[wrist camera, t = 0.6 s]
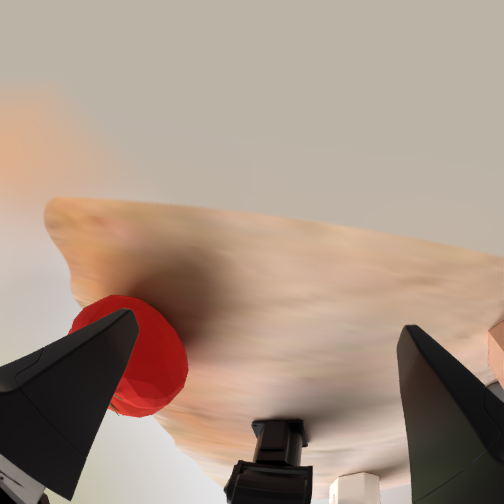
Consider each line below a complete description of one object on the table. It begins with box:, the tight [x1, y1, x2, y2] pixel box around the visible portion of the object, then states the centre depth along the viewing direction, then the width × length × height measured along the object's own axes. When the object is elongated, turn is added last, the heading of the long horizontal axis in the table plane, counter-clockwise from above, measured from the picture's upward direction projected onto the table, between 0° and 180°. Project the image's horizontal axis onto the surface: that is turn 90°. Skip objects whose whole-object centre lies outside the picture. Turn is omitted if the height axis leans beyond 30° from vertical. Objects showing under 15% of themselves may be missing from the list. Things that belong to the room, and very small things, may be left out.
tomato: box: [68, 295, 189, 418], centre depth 24 cm, size 13×12×11 cm
